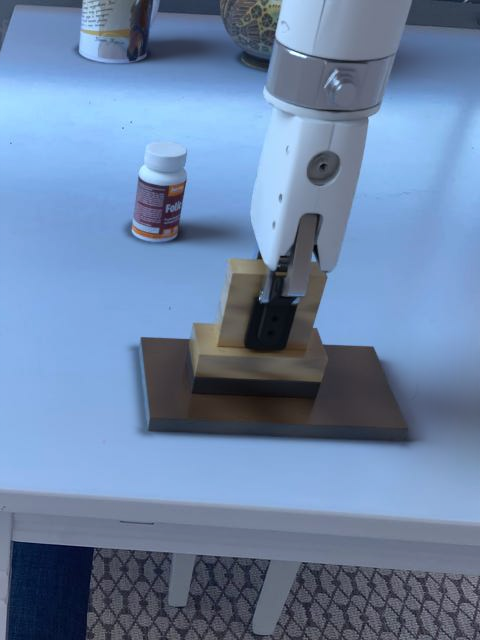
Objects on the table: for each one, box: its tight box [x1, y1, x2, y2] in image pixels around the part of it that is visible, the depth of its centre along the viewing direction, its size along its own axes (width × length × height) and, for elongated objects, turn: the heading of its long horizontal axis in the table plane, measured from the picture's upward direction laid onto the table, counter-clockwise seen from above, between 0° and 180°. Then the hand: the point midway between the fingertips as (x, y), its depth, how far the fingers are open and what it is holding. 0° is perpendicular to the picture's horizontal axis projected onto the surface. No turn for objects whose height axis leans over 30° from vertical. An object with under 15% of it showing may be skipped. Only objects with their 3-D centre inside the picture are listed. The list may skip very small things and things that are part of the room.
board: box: [138, 336, 409, 442], centre depth 77 cm, size 20×12×2 cm, turn 88°
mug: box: [78, 0, 161, 64], centre depth 132 cm, size 10×12×11 cm
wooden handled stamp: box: [186, 257, 328, 398], centre depth 73 cm, size 10×5×10 cm, turn 88°
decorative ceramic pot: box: [219, 0, 283, 72], centre depth 129 cm, size 24×18×15 cm
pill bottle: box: [131, 140, 188, 243], centre depth 94 cm, size 5×5×8 cm
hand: (261, 335), depth 74 cm, fingers closed on wooden handled stamp, 2 cm apart
